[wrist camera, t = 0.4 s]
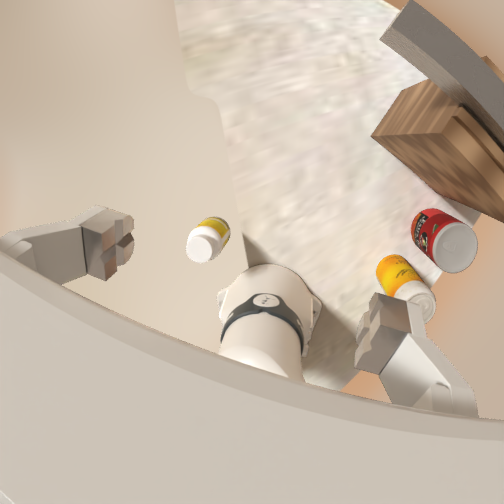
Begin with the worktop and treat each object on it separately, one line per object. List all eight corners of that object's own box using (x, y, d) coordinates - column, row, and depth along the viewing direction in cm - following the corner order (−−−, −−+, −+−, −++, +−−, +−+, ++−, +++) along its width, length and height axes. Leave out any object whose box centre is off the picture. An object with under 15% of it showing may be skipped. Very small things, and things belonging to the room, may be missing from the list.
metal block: (379, 39, 20) (396, 19, 15) (397, 13, 19) (417, -9, 14) (542, 209, 22) (572, 222, 17) (555, 183, 20) (586, 193, 16)
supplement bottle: (198, 216, 54) (179, 232, 45) (229, 215, 53) (216, 231, 44) (201, 246, 56) (183, 267, 46) (231, 246, 55) (219, 267, 46)
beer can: (413, 267, 52) (445, 307, 38) (389, 291, 54) (415, 337, 40) (392, 245, 51) (422, 281, 37) (368, 271, 53) (390, 314, 39)
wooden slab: (370, 136, 46) (446, 132, 21) (401, 90, 42) (491, 53, 17) (436, 192, 47) (535, 239, 22) (465, 148, 44) (573, 165, 18)
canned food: (409, 208, 49) (435, 224, 38) (449, 206, 47) (480, 222, 37) (408, 251, 51) (431, 276, 41) (447, 248, 50) (475, 271, 40)
